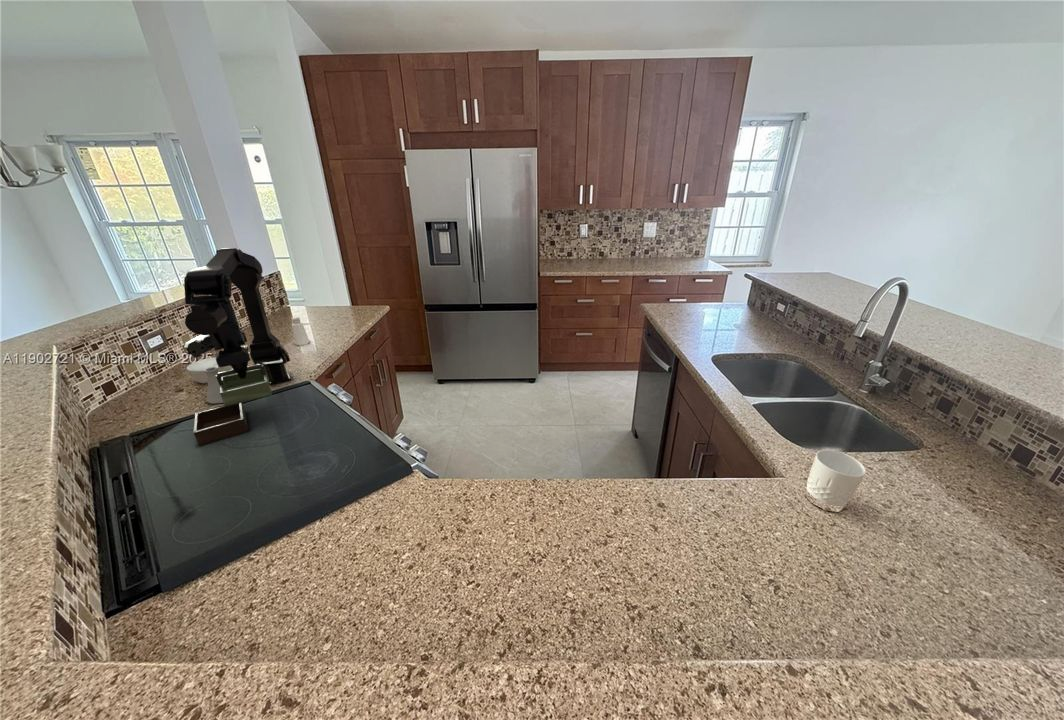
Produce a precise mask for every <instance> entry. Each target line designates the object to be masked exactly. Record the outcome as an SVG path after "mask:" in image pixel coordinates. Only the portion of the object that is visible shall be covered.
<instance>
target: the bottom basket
mask: <svg viewBox="0 0 1064 720" xmlns="http://www.w3.org/2000/svg"><path fill="white" fill-rule="evenodd" d="M193 421H194V422H193V435H194V437H195V439H196V442H197V443H198V446H199V447H201V446H204V445H208V444H211V443H214V442H218V441H221V440H225V439H227V438H231V437H234V436H238V435H241V434H245V433H247V432H249V427H248V419H247V413H246V411H245V408H244V405H243V402H242V403H238V404H234V405H231V406H227V407H225V405H222V406H218V407H214V408H211V409H207V410H203V411H199V412H195V413H194V420H193Z"/></svg>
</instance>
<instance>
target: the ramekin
mask: <svg viewBox="0 0 1064 720" xmlns="http://www.w3.org/2000/svg"><path fill="white" fill-rule="evenodd" d="M210 367H218V364H217V362H216V356H215V357H208V358H204V359H200V360H197V361H194V362H192V363H190V364H189V365H187V367H186V372H188V373H189V374H190V376H191V377H192V378H193V380H194V381H195V382H197V383H199V384H208V377H207V374H206V373H205V372H204V370H205V369H207V368H210ZM218 368H219V369H218V372H219V373H220V372H225V371H229V370H232V369H231V368H232V367H231V365H230V366H225V367H218Z"/></svg>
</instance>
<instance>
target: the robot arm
mask: <svg viewBox="0 0 1064 720" xmlns="http://www.w3.org/2000/svg"><path fill="white" fill-rule="evenodd" d="M262 281H263V266H262V263H261V262H260V261H259V260H258V259H257V257H256V256H254V255H251V254H250V253H249V254H248V253H246V252H244V251H242V250H241V249H240V248H237V247H223V248H222V247H221V248H219V249H216V250H215V255H214V256H213V257H212V258H211V259H210V260H209V261H208V262H207V263H206V264H205V265H204V266H201V267H196V268H193V269H190V270H188V271H187V272H186V273H185V276H184V280H183V283H184V286H183V287H184V304H185V305H190V306H189V309H190V311H191V312H188V314H187V315H186V316H185V318H184V325H185V327H186V328H187V329H188V330H189V331H190V332H192V333H193V334H196V335H198V336H195V337H194V338H192V339H190V340H188V341H186V342H184V346H183V348H184V349H185V351H186V352H187V355H190V356H192V357H193V358H194V359H197V358H198V357H201V356H202V355H203V354H205V353H207V352H209V351H211V350H213V349H214V351H215V352H216V351H218V352H217V353H216V354H215V357H216V362H217V364H218V367H225V366H230V367H231V368H232V370H234V371H235V372H236V373H237V375H238V376H239V377H240V378H241V379H243V378H246V372H247V367H248V366H249V362H250V361H252V362H253V364H254V365H257V364H261V365H264V367H265V370H266V373H267V376H268V379H269V384H270V386H271V385H275V384H281V383H283V382H288V381H291V376H290V374H289V372H288V371H287V368H286V364H287V363H289V362H290V361H291V358H290V355H289V352H288V351H287V350H286V349H285V347H284V346H282V345H281V344H282V343H281V341H280V340H279V338H277V337H276V336H275V335H274V334H273V333H272V332H271V328H270V324H269V320H268V317H267V313H266V310H265V306H264V305H265V304H264V302H263V298H262V295H261V290H260V285H261V283H262ZM232 284H233V286H235V287H236V288H237V289H238V290H239V291H240V295H241V298H242V302H243V305H244V308H245V311H246V315H247V319H248V322H249V326H250V329H251V332H252V336H253V338H252V340H251V343H250V344H249V346H248V345H246V343H248V339H247V336H246V333H245V332H244V331H242V330H241V327H240V323H239V320H238V318H237V316H236V313H235V310H234V307H233V304H232V301H231V297H232V289H233V288H232ZM249 350H250V351H249Z"/></svg>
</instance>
